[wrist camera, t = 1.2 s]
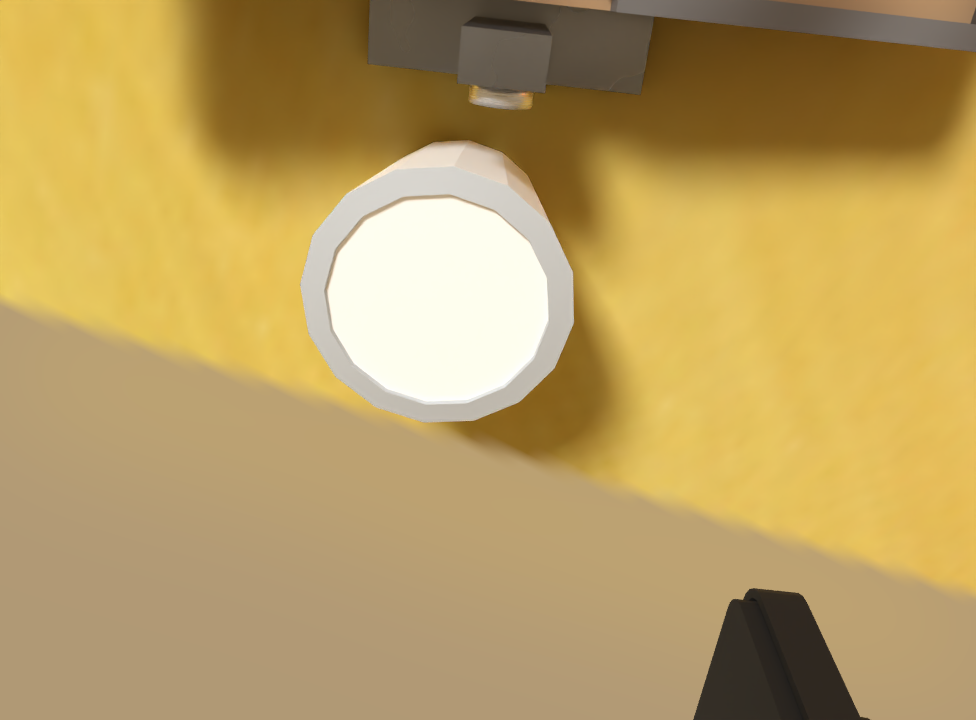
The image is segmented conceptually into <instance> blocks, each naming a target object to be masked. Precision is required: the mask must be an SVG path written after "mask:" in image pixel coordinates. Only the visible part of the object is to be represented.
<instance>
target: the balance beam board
mask: <svg viewBox="0 0 976 720" xmlns="http://www.w3.org/2000/svg"><path fill="white" fill-rule="evenodd" d="M517 1H526V2H535V3H544V4H553V5H562V6H571V7H580V8H589V9H598V10H607V11H613V12H620V13H629V14H638V15H647V16H656V17H665V18H674V19H683V20H692V21H701V22H710V23H719V24H728V25H737V26H746V27H755V28H764V29H773V30H782V31H791V32H800V33H809V34H818V35H827V36H836V37H845V38H854V39H863V40H873V41H882V42H891V43H900V44H909V45H918V46H927V47H936V48H945V49H954V50H963V51H972V52H976V0H517Z"/></svg>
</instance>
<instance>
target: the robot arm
mask: <svg viewBox="0 0 976 720" xmlns="http://www.w3.org/2000/svg"><path fill="white" fill-rule="evenodd" d="M693 720H870V719H868V718H863V717H860V716H859V714H858V711H857V709H856V707H855V705H854V703H853V701H852V698H851V696H850V694H849V692H848V690H847V688H846V686H845V683H844V681H843V679H842V677H841V675H840V673H839V671H838V668H837V666H836V664H835V662H834V660H833V658H832V655H831V653H830V651H829V649H828V647H827V645H826V643H825V640H824V638H823V636H822V634H821V632H820V630H819V627H818V625H817V623H816V621H815V619H814V617H813V615H812V612H811V610H810V608H809V606H808V604H807V602H806V600H805V599H804V597H803V596H802V595H800V594H799V593H792V592H782V591H773V590H764V589H755V588H753V589H749V591H748V592H747V593H746V594H745V597H744V599H743V600H739V599H733V600H732V601H731V602H730V604H729V607H728V609H727V612H726V616H725V619H724V622H723V625H722V629H721V632H720V635H719V638H718V642H717V645H716V648H715V651H714V655H713V658H712V661H711V664H710V668H709V671H708V674H707V678H706V680H705V684H704V687H703V690H702V694H701V697H700V700H699V703H698V706H697V710H696V713H695V716H694V719H693Z"/></svg>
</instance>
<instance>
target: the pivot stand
mask: <svg viewBox="0 0 976 720" xmlns="http://www.w3.org/2000/svg"><path fill="white" fill-rule="evenodd" d="M653 22H654V16H647V15H638V14H629V13H620V12H613V11H607V10H598V9H589V8H580V7H571V6H562V5H553V4H544V3H535V2H526V1H517V0H370V11H369V40H368V64H373V65H381V66H390V67H399V68H408V69H417V70H426V71H434V72H443V73H452V74H458V76H457V83H459V84H468V85H470V89H469V102H470V103H473V104H476V105H480V106H485V107H491V108H498V109H508V110H528V109H531V108H532V104H533V95H534V92H539V93H545V90H546V84H549V85H558V86H567V87H576V88H585V89H593V90H602V91H611V92H620V93H629V94H638V95H641V89H642V83H643V78H644V72H645V66H646V61H647V55H648V50H649V44H650V38H651V33H652V27H653Z"/></svg>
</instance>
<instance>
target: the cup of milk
mask: <svg viewBox="0 0 976 720" xmlns="http://www.w3.org/2000/svg"><path fill="white" fill-rule="evenodd" d="M300 286H301V292H302V298H303V304H304V309H305V315H306V321H307V327H308V333H309V335H310V337H311V338H312V340H313V342H314V343H315V345H316V346H317V348H318V350H319V351H320V353H321V354H322V356H323V358H324V359H325V361H326V362H327V364H328V366H329V367H330V369H331V370H332V372H333V373H334V375H335V377H337V378H338V379H339V380H341V381H342V382H343V383H344V384H346V385H347V386H348V387H350V388H351V389H352V390H354V391H355V392H356V393H358V394H359V395H360V396H362V397H363V398H364V399H366V400H367V401H368V402H370V403H371V404H372V405H374V406H375V407H377V408H380V409H383V410H386V411H389V412H392V413H396V414H399V415H402V416H405V417H408V418H411V419H415V420H418V421H421V422H451V421H474V420H477V419H479V418H482V417H484V416H487V415H489V414H492V413H494V412H496V411H499V410H501V409H504V408H506V407H509V406H511V405H514V404H516V403H519V402H520V401H521V400H522V399H523V398H524V397H525V396H526V395H527V394H528V393H529V392H530V391H532V390H533V389H534V388H535V387H536V386H537V385H538V384H539V383H540V382H541V381H542V380H543V379H544V378H545V377H546V376H547V375H548V374H549V373H550V372H551V371H552V370H553V369H555V366H556V364H557V362H558V359H559V357H560V354H561V352H562V350H563V347H564V345H565V343H566V340H567V338H568V336H569V333H570V331H571V329H572V326H573V324H574V303H573V271H572V269H571V267H570V265H569V263H568V260H567V258H566V256H565V254H564V252H563V250H562V248H561V245H560V243H559V241H558V239H557V237H556V235H555V232H554V230H553V228H552V226H551V224H550V222H549V220H548V217H547V215H546V213H545V211H544V209H543V207H542V205H541V203H540V200H539V198H538V196H537V194H536V192H535V190H534V188H533V185H532V183H531V181H530V179H529V177H528V175H527V174H526V173H525V172H523V171H522V170H521V169H520V168H519V167H518V166H517V165H516V164H515V163H514V162H513V161H511V160H510V159H509V158H508V157H507V156H506V155H505V154H504V153H503V152H501V151H498V150H495V149H493V148H490V147H487V146H484V145H481V144H479V143H476V142H473V141H470V140H460V141H442V142H433V143H431V144H429V145H427V146H425V147H423V148H421V149H419V150H417V151H415V152H413V153H411V154H409V155H407V156H405V157H403V158H401V159H400V160H398V161H397V162H395V163H393V164H392V165H390V166H389V167H387V168H386V169H384V170H383V171H381V172H380V173H378V174H376V175H375V176H373V177H372V178H370V179H369V180H367V181H366V182H364V183H363V184H361V185H360V186H358V187H356V188H355V189H353V190H352V191H350V192H349V193H347V194H346V195H345V196H344V197H343V199H342V200H341V201H340V202H339V204H338V205H337V206H336V207H335V208H334V210H333V211H332V212H331V213H330V215H329V216H328V217H327V218H326V220H325V221H324V222H323V223H322V224H321V226H320V227H319V228H318V229H317V231H316V232H315V233H314V234H313V236H312V240H311V244H310V248H309V252H308V256H307V260H306V264H305V268H304V272H303V276H302V280H301V283H300Z"/></svg>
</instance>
